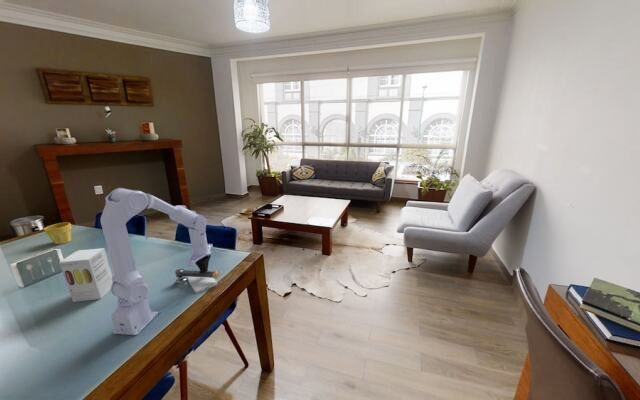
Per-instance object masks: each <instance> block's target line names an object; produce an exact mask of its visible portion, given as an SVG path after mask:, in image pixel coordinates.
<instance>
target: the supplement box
mask: <svg viewBox="0 0 640 400" xmlns="http://www.w3.org/2000/svg"><path fill="white" fill-rule="evenodd" d="M59 266H60V268H61V270H62V271H61V272H62V274H63V277H64V280H65V282H66V285H67V288H68V291H69V294H70V298H71V299H72V303H76V302H84V301H86V302H87V301H93V300H94V301H95V300H101V299H103V297H104V296H106V294H107V293H109V291H111V286H112V279H111V278H112V277H113V276H114V275H113V273H112V269H111V265H110V263H109V259H108V257H107V253H106V249H105V248H104V247H102V248H101V247H100V248H90V249H79V250H76V251H74V252H72V253H71V254H70V255H68V256H66V257H65V258H64V259H62V260H61V261H59Z"/></svg>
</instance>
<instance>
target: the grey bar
mask: <svg viewBox="0 0 640 400" xmlns="http://www.w3.org/2000/svg"><path fill="white" fill-rule="evenodd" d="M174 273H175V277H176V278H178V277H182V276H183V277H209V278H214V279H218V277H219V276H220V271H219V270H218V271H217V270H215V271H209V270H208V271H200V270H187V269H184V268H179V269H176V270H175V271H174Z"/></svg>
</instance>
